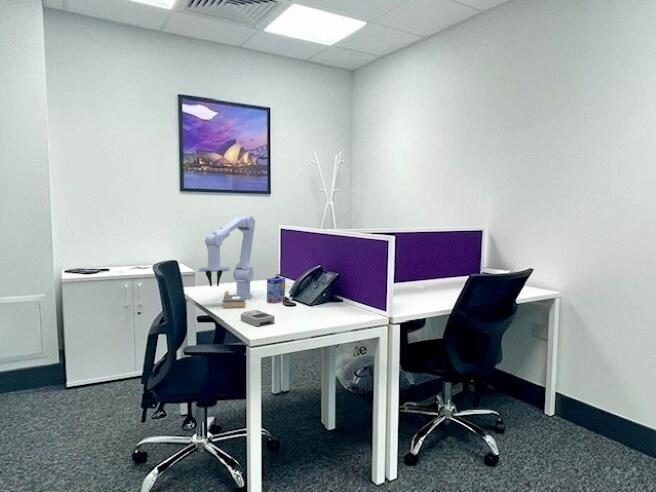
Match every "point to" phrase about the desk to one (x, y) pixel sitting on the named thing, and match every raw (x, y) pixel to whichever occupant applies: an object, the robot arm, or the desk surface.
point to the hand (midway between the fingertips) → (214, 286)
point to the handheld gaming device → (257, 317)
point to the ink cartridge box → (275, 289)
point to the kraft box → (234, 304)
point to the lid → (233, 297)
